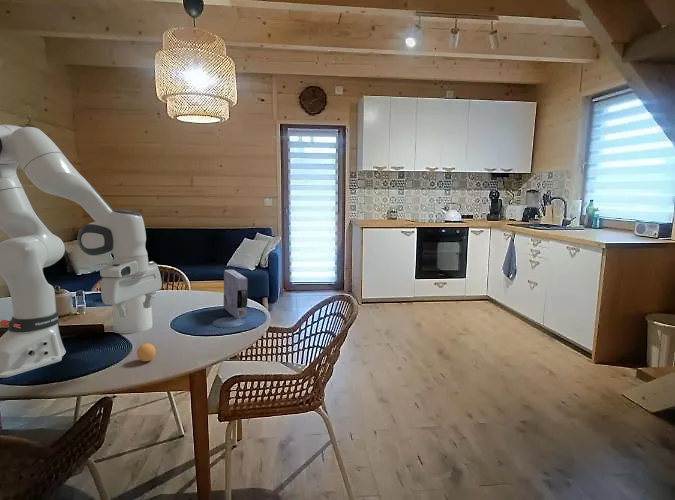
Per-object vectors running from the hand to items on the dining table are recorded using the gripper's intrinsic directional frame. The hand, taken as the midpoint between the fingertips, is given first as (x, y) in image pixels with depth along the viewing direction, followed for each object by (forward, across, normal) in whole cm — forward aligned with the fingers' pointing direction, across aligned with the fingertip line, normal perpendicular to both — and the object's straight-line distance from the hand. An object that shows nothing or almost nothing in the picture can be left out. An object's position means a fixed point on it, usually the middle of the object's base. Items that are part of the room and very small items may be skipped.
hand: (136, 311), depth 125 cm
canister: (+17, -30, -30) cm, 46 cm away
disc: (+18, -48, +2) cm, 51 cm away
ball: (+15, -6, -3) cm, 17 cm away
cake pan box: (+18, -60, -2) cm, 62 cm away
